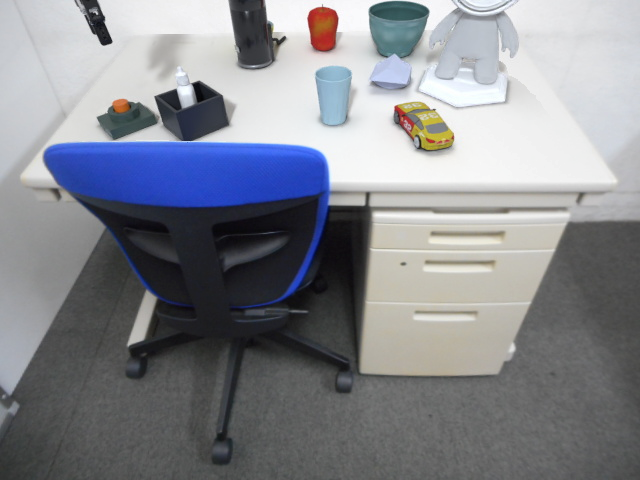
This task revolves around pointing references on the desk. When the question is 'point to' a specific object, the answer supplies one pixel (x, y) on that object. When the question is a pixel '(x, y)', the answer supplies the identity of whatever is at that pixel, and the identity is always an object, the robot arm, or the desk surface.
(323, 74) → the cup
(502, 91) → the white toy figurine
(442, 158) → the desk surface
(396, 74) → the wedge on round base
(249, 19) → the robot arm
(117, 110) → the button
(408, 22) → the flower pot
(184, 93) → the eye dropper bottle
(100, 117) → the control block
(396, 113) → the toy car
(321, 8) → the apple
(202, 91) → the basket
